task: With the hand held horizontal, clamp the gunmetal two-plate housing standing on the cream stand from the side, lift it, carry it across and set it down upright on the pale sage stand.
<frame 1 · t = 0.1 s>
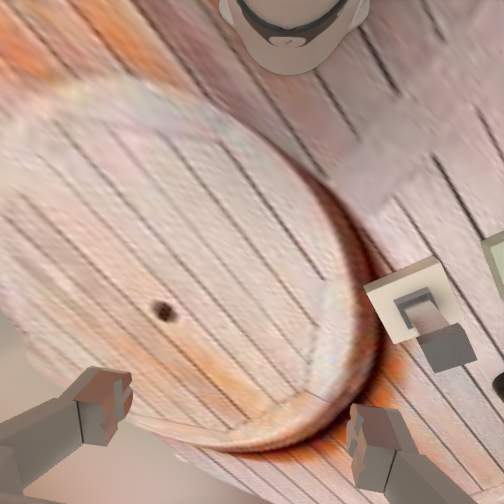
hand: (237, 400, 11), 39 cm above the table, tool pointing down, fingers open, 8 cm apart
housing: (415, 306, 48), point 2 cm above the table, touching stand a
stand a: (409, 298, 51), on the table
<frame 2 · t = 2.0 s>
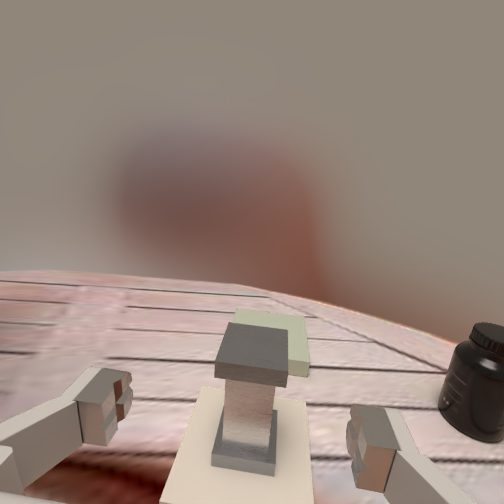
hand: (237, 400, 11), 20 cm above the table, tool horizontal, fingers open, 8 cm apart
housing: (246, 441, 27), point 2 cm above the table, touching stand a
stand a: (244, 460, 28), on the table
stand b: (266, 345, 46), on the table
supplement bottle: (468, 419, 35), on the table
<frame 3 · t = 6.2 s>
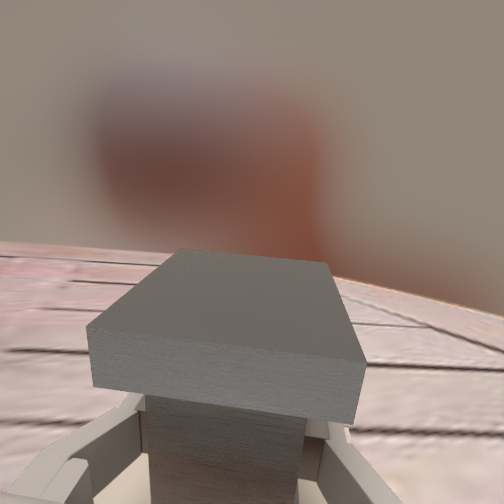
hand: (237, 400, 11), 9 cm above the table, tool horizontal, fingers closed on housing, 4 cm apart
when the fingers open (10 cm above the table, at t = 11.2 s): housing drops 1 cm, resting on stand b.
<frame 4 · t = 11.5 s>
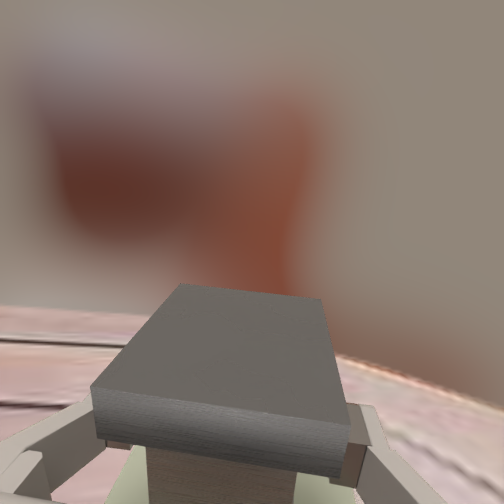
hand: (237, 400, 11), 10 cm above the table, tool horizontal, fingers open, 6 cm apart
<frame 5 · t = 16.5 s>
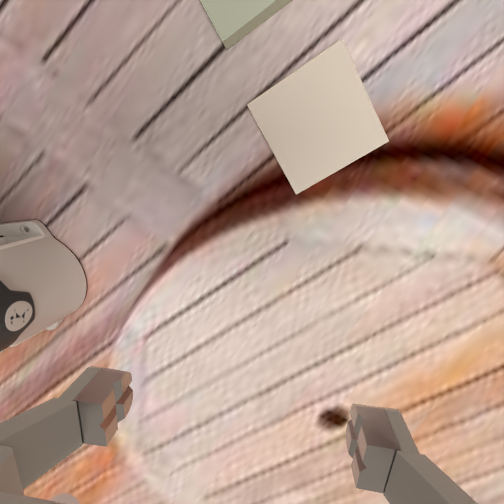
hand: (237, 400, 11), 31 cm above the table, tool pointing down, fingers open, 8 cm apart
stand a: (315, 125, 36), on the table
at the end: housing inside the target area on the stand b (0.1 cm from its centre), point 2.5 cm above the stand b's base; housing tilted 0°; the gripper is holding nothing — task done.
